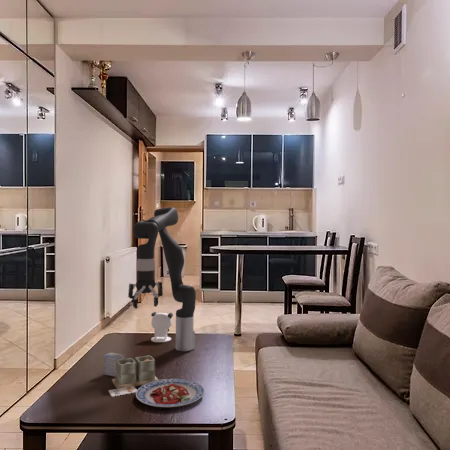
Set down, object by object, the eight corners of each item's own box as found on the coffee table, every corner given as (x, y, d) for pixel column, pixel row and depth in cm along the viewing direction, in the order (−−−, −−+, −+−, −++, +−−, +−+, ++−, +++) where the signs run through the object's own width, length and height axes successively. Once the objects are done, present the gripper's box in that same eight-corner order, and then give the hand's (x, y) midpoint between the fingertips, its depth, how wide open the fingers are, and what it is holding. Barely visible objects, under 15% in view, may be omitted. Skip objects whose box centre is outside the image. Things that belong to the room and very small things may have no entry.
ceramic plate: (124, 393, 161) (124, 386, 161) (182, 379, 177) (182, 372, 176) (155, 419, 140) (155, 410, 140) (217, 400, 156) (217, 392, 156)
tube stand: (152, 374, 180) (152, 354, 180) (158, 382, 172) (158, 360, 172) (112, 381, 173) (112, 359, 173) (117, 389, 165) (117, 366, 165)
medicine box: (124, 374, 181) (125, 354, 181) (118, 378, 177) (118, 357, 177) (110, 371, 184) (110, 352, 184) (103, 375, 180) (103, 354, 180)
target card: (133, 386, 167) (133, 385, 167) (137, 392, 162) (137, 391, 162) (108, 391, 163) (108, 390, 163) (111, 397, 157) (111, 395, 157)
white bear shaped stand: (174, 337, 240) (174, 311, 240) (169, 342, 229) (170, 315, 229) (153, 336, 241) (154, 310, 241) (148, 341, 230) (148, 314, 230)
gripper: (159, 267, 184) (158, 304, 184) (126, 269, 177) (126, 307, 177) (164, 269, 177) (164, 307, 177) (131, 270, 171) (131, 310, 171)
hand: (145, 307), depth 177 cm, fingers open, 8 cm apart
